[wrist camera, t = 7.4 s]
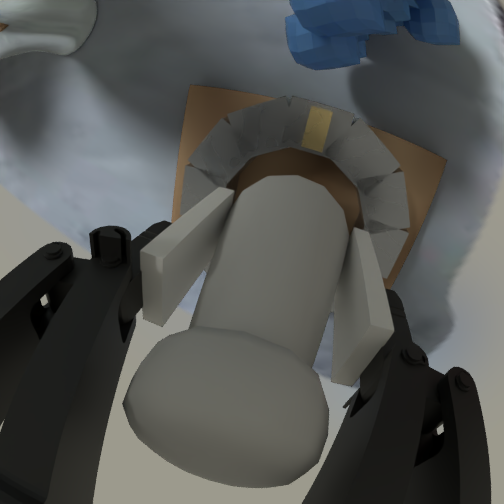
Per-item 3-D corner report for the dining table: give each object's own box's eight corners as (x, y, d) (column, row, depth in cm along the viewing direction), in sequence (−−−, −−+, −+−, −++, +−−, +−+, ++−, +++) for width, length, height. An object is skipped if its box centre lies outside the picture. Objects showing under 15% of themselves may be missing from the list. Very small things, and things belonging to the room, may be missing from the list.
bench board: (176, 243, 22) (169, 250, 21) (197, 85, 16) (189, 84, 14) (373, 305, 20) (374, 315, 19) (439, 156, 14) (447, 160, 13)
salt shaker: (220, 211, 16) (56, 398, 5) (294, 142, 13) (134, 316, 2) (289, 280, 17) (224, 500, 6) (366, 226, 14) (407, 488, 3)
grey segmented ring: (190, 260, 21) (170, 283, 18) (217, 83, 14) (194, 79, 12) (352, 311, 19) (354, 342, 17) (424, 144, 13) (445, 152, 10)
